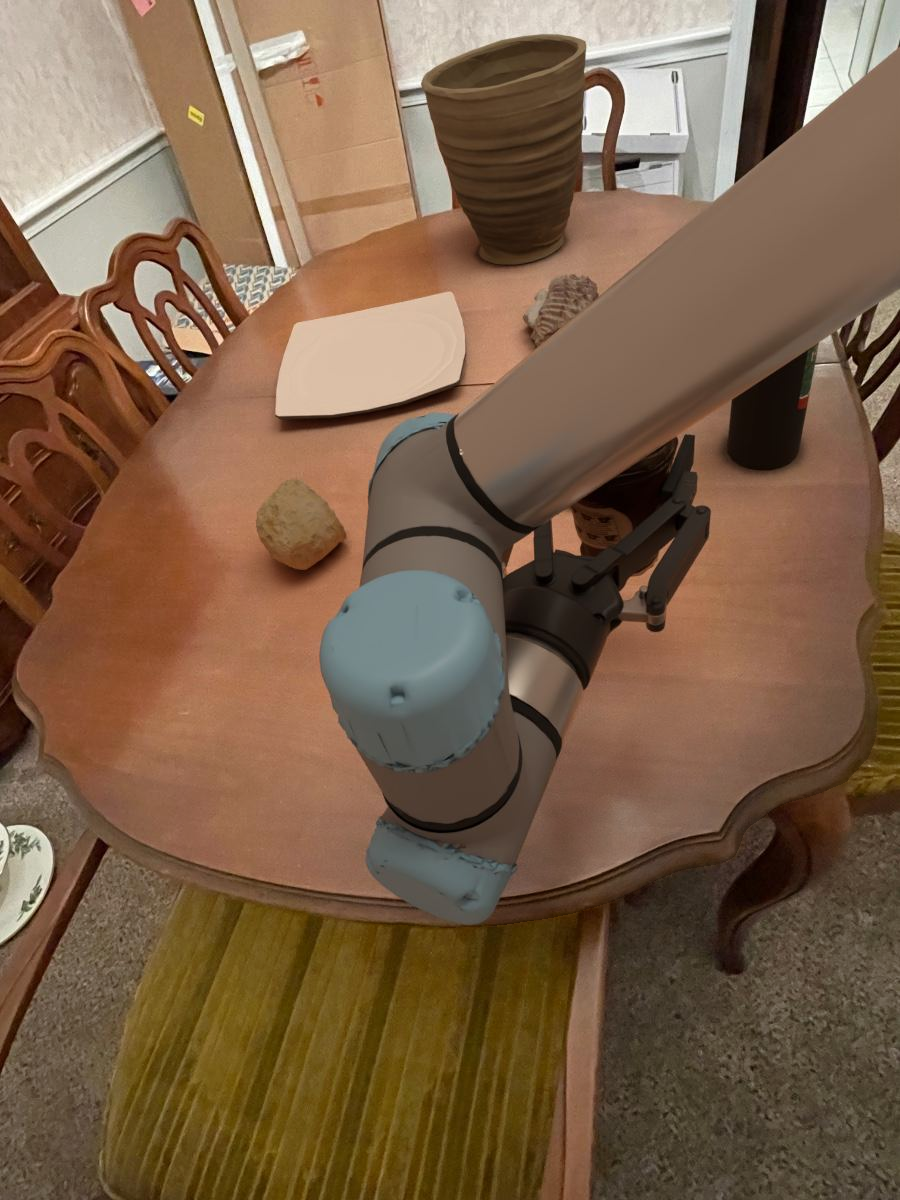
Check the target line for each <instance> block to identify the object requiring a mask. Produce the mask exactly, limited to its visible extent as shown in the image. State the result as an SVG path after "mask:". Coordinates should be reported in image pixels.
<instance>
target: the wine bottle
mask: <svg viewBox="0 0 900 1200" xmlns="http://www.w3.org/2000/svg"><path fill="white" fill-rule="evenodd" d="M819 346H820V342H819V343H817V344H816V345H814V346H813V347H811V348H810V349H808V350H807V351H805V352H804V353H802V354H801V355H799V356H797V357H796V358H794V359H793V360H791V361H790V362H788V363H787V364H785V365H784V366H782V367H781V368H779V369H778V370H776V371H775V372H773V373H772V374H770V375H769V376H767V377H766V378H764V379H763V380H761V381H760V382H758V383H757V384H755V385H753V386H752V387H750V388H749V389H747V390H746V391H744V392H743V393H741V394H740V395H738V396H737V397H735V398H734V399H732V400H731V404H730V414H729V425H728V432H727V433H728V434H727V445H726V447H727V454H728V456H729V458H730V460H732V461H733V462H734V463H736V464H737V465H739V466H741V467H744V468H746V469H751V470H757V471H770V470H771V471H772V470H775V469H780V468H783V467H785V466H787V465H789V464H791V463H792V462H793V461H794V460H795V459H796V458H797V456H798V454H799V451H800V446H801V442H802V438H803V431H804V426H805V419H806V415H807V410H808V405H809V400H810V395H811V389H812V383H813V378H814V372H815V368H816V362H817V356H818V352H819V351H818V350H819Z"/></svg>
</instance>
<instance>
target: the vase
mask: <svg viewBox="0 0 900 1200" xmlns="http://www.w3.org/2000/svg"><path fill="white" fill-rule="evenodd" d="M586 57H587V42H586V40H584V39H582V38H579V37H575V36H571V35H565V34H560V33H559V34H557V33H538V34H531V35H522V36H515V37H511V38H505V39H500V40H497V41H494V42H491V43H488V44H485V45H483V46H480V47H477V48H474V49H471V50H469V51H467V52H463V53H462V54H460V55H457V56H454V57H452V58H449V59H447V60H445V61H444V62H443V61H442V62H441V63H440V64H437V65H436V66H434V67H433V68H431V69H429V70H428V71H427V72H426V73H425V74H424V75H423V77H422V80H421V82H420V85H421V89H422V90H423V93H424V95H425V101H426V104H427V109H428V113H429V116H430V120H431V122H432V125H433V130H434V131H433V132H434V134H435V137H436V139H437V143H438V150H439V152H440V154H441V156H442V159H443V162H444V165H445V166H446V169H447V174H448V178H449V182H450V186H451V188H452V189H453V190H454V193H455V196H456V200H457V202H458V204H459V205H460V207H461V209H462V212H463V213H464V215H465V216H466V218H467V219H468V221H469V223H470V226H471V228H472V230H473V232H474V233H475V235H476V237H477V241H478V242H479V244H480V248H479V250H478V253H479V256H480V258H481V259H482V260H483V261H485V262H488V263H491V264H495V265H509V266H510V265H523V264H528V263H531V262H535V261H539V260H541V259H543V258H546V257H549V256H550V255H551V254H553V253H555V252H556V251H557V250H559V249H560V247H561V246H562V245H563V244H564V242H565V241H564V240H565V237H564V236H563V234H564V232H565V231H566V228H567V225H568V221H569V219H570V215H571V207H572V203H573V201H574V195H575V189H576V186H577V181H578V180H577V177H578V176H577V175H578V171H579V169H580V154H581V150H582V148H583V147H582V145H583V143H582V142H583V131H584V123H583V120H584V119H583V118H584V102H585V88H586V87H585V86H586V75H585V68H586Z"/></svg>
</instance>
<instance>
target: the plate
mask: <svg viewBox="0 0 900 1200" xmlns="http://www.w3.org/2000/svg"><path fill="white" fill-rule="evenodd" d="M466 339H467V338H466V332H465V326H464V320H463V317H462V315H461V311H460V309H459V306H458V304H457V300H456V298H455V295H454V293H453V291H450V290H448V291H445V292H444V291H443V292H440V293H436V294H431V295H426V296H423V297H418V298H414V299H409V300H405V301H400V302H396V303H389V304H385V305H381V306H375V307H371V308H366V309H362V310H357V311H352V312H347V313H343V314H342V313H341V314H337V315H336V314H335V315H331V316H326V317H320V318H315V319H310V320H304V321H299V322H296V323H295V324H293V327H292V330H291V333H290V335H289V339H288V342H287V345H286V347H285V351H284V353H283V357H282V361H281V364H280V367H279V372H278V377H277V382H276V383H277V384H276V389H275V413H274V414H275V418H277V419H279V420H304V419H305V420H306V419H307V420H308V419H335V418H342V417H347V416H353V415H359V414H360V415H361V414H366V413H372V412H376V411H380V410H385V409H390V408H394V407H400V406H404V405H407V404H409V403H413V402H415V401H419V400H421V399H424V398H426V397H430V396H433V395H436V394H438V393H441V392H443V391H447V390H449V389H452V388H454V387H455V386H457V385H458V384H459V383H460V382H461V379H462V373H463V371H464V370H463V369H464V365H465V360H466V355H467V347H466V346H467V343H466V342H467V341H466Z"/></svg>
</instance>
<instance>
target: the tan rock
mask: <svg viewBox="0 0 900 1200" xmlns="http://www.w3.org/2000/svg"><path fill="white" fill-rule="evenodd" d="M255 529H256V532H257V534H258V538H259V541H260V543H262V545H263V547H264V548H265V549H266V550H267V551H268V553H269V555H270V557H271V558H273V559H275V560H276V561H277V562H279V563H282V564H284V565H286V566H288V567H289V568H293V569H294V570H299V571H300V570H303V571H306V570H308V569H310V568H311V567H313V566H314V565H315V564H317V563H318V562H319V561H322V560H323V559H324V558H325V557H326V556H327V555H328V554H330V553H331V552H333V550H334V549H335V548H336V547H338V545H339V544H340V543H344V542H345V540H346V539H347V532H346V529H345V527H344V525H343V524H342V523H341V520H340V519H339V518H338V517H337V515H336V512H335V509H331V507H330V505H329V503H328V501H327V500H326V499H325V498H323V497H322V495H320V494H319V493H317V492H316V491H315V490H314V489H311V488H310V486H309V485H308V484H307V483H305V482H304V481H303V480H302V479H300V478H299V479H298V478H296V477H293V478H291V479H289V480H285V481H283V482H282V483H281V484H280V485H278V488H277V489H275V490H274V491H273V492H272V494H271V495H270V496H269V497H268V498H266V500H265V501H264V502H263V503H262V505H261V506H260V507H259V509H258V510H257V511H256V519H255Z"/></svg>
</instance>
